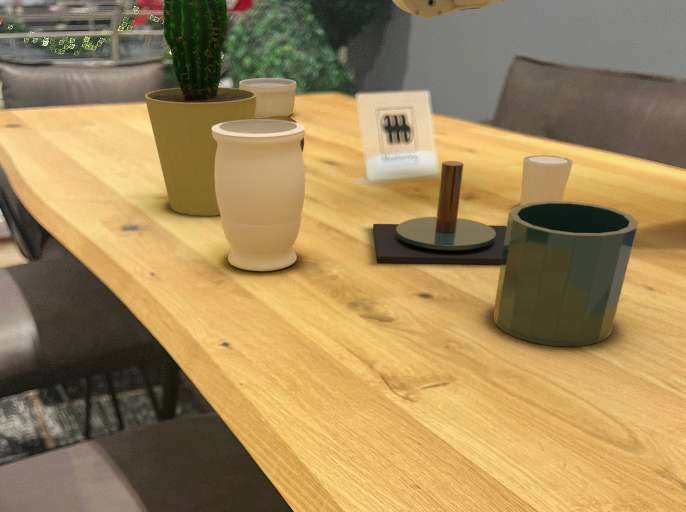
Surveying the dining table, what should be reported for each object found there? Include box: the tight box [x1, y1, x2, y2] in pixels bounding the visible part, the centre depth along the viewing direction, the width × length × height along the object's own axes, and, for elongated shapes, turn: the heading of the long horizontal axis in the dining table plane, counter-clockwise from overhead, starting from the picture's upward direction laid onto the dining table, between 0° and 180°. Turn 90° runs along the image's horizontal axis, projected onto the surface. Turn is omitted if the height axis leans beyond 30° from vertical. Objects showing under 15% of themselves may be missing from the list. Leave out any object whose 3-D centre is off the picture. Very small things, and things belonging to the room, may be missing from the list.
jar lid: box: [396, 160, 496, 250], centre depth 95 cm, size 13×13×9 cm
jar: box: [212, 119, 306, 272], centre depth 89 cm, size 11×10×15 cm
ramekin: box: [238, 77, 297, 118], centre depth 176 cm, size 13×13×7 cm
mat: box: [372, 223, 507, 266], centre depth 98 cm, size 18×14×1 cm
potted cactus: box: [144, 0, 257, 217], centre depth 105 cm, size 15×15×30 cm
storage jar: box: [493, 200, 639, 348], centre depth 75 cm, size 12×12×10 cm
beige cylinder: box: [519, 154, 574, 206], centre depth 111 cm, size 7×7×7 cm
